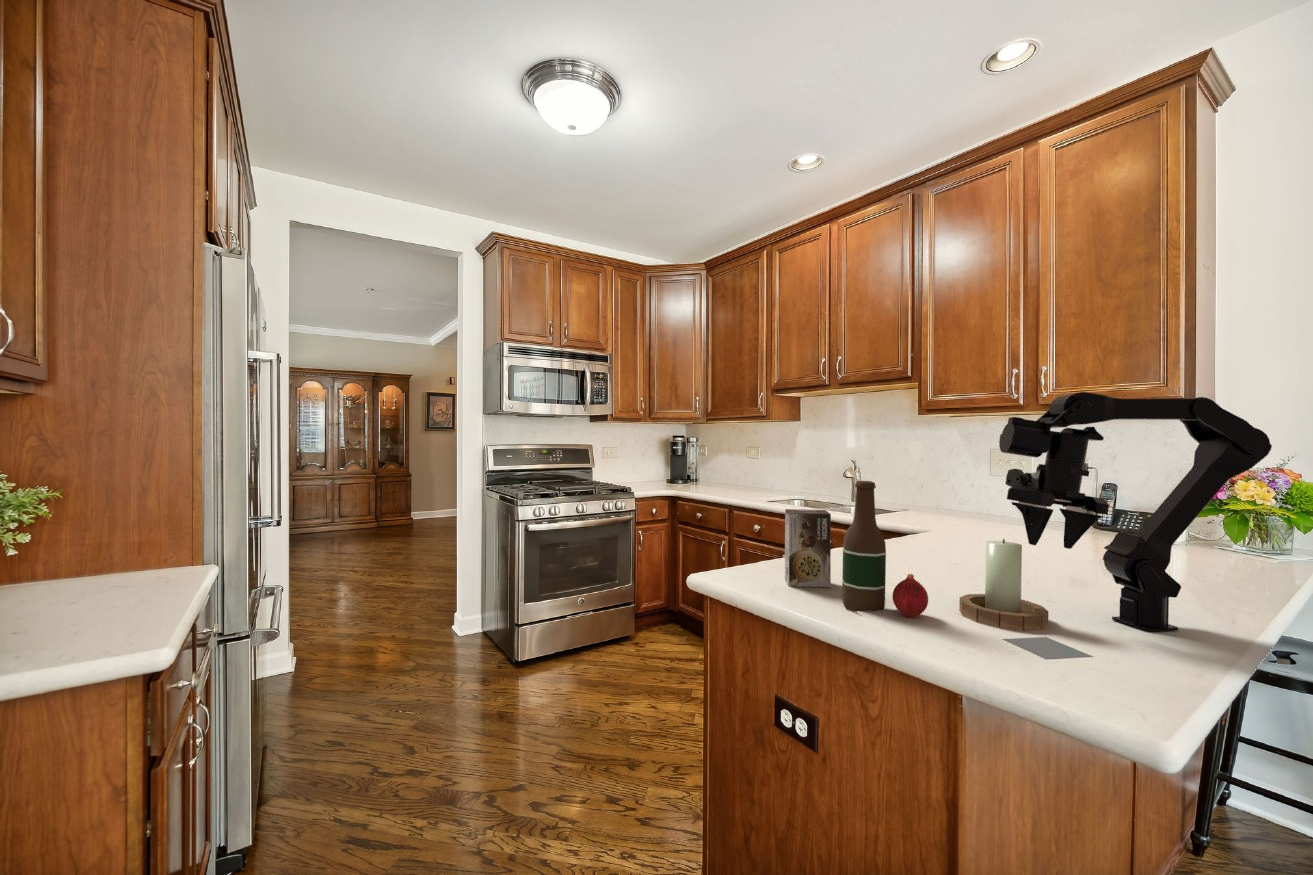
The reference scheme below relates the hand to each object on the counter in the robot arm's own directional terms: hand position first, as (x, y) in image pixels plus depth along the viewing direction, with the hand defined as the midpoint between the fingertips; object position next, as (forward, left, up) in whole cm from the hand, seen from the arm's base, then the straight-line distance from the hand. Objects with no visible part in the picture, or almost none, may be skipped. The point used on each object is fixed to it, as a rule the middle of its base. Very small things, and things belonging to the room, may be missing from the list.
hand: (1050, 546), depth 100 cm
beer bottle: (+31, -9, -13) cm, 35 cm away
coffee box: (+34, -27, -13) cm, 46 cm away
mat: (+15, +14, -13) cm, 24 cm away
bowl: (+10, +1, -13) cm, 17 cm away
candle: (+10, +1, -12) cm, 16 cm away
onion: (+26, -2, -13) cm, 29 cm away
